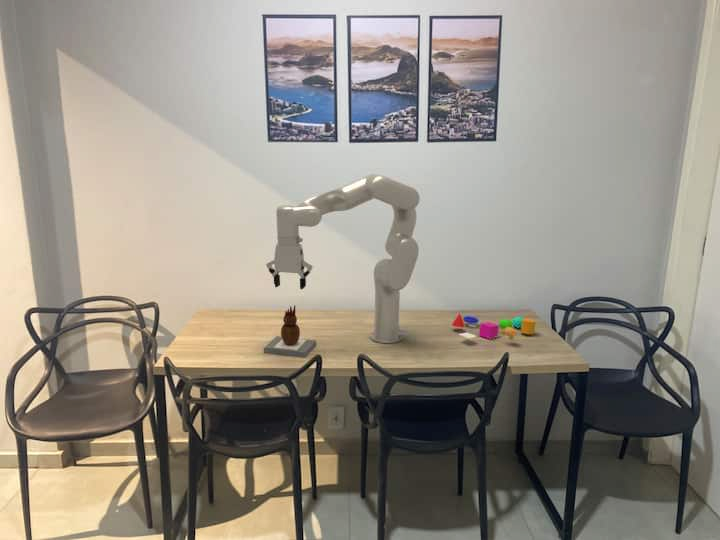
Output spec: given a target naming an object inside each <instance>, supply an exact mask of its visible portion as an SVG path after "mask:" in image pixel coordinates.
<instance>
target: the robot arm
mask: <svg viewBox="0 0 720 540" xmlns="http://www.w3.org/2000/svg"><path fill="white" fill-rule="evenodd" d="M371 200H378V201H379V202H380V201H381V202H383V203H385V204H387V205H390V206H391V207H392V209H393V221H392V222H391V223H392V224H391V228H390V229H389V233H388V235H387V239H386V242H385V245H384V248H385V252H386V253H387V254H388V256H391V259H389V258H383V259H381V260H378V262H377V263H376V264H375V266H374V269H373V280H374V282H373V283H374V293H375V294H374V330H373V331H372V332H371V333H370V339H371V340H372V341H374V342H376V343H378V344H379V343H381V344H395V343H398V342H401V341H402V340H403V337H407V338H410V331H408V330H407V329H402V328H401V325H399V324H400V301H401V300H400V299H401V298H400V297H401V296H400V295H401V294H400V291H401V290H403V289H404V288H406V287H407V285H408V284H409V282H410V280H411V277H412V274H413V271H414V268H415V266H416V263H417V260H418V258H419V252H420V251H419V250H420V249H419V245H418V243H417V241H416V240H415V239H414V238H413V234H414V232H415V231H414V230H415V227H416V223H417V211H416V208H417V206H418V205H419V203H420V200H421V198H420V193H419V192H418V191H417V189H416V188H414V187H412V186H410V185H407V184H405V183H402V182H399V181H397V180H395V179H392V178H390V177H387V176H384V175H380V174H375V173H373V174H372V173H371V174H368V175H365V176H363V177H361V178H359V179H357V180H355V181H351V182H350V183H347V184H345V185H343V186H340V187H338V188H336V189H335V188H334V189H332V190H329V191H327V192H323V193H321V194H318V195H316V196H314V197H311V198H309V199H307V200H304V201H302V202H300V203H299V204H298V205H297V206H296V205H292V204H291V205H288V204H287V205H285V204H284V205H280V206H278V207H277V208H276V211H275V212H276V213H275V214H276V229H277V230H276V231H277V244H276V245H275V250H274V259H272V260H271V261H269V262H268V263H266V264H265V265H266V267H267V269H268V272H269V273H270V274H271V275H272V276H271V277H273V285H274V287H275V288H278V287H279V286H281V277H280V274H279V273H287V274H288V273H291V274H298V275H299V277H300V278H299V289H300V290H303V289H305V287H306V285H307V280H306V279H307V276H308V275H309V274H310V273H311V271H312V270H313V267H314V266H313V265H312V264H310V263H308V262H306V260H305V257H304V256H305V255H304V250H303V246H302V244H301V243H303V240H304V239H303V238H302V237H300V232H299V231H300V230H299V229H300V227H305V228H306V227H307V228H308V227H310V228H312V227H316V226H317V225H319V223H321V221H322V216H324V215H326V214H329V213H332V212H333V213H334V212H344V211H349V210H352V209H355V208H357V207H358V206H361V205H362V204H364V203H367V202H369V201H371ZM273 265H274V268H273ZM305 268H306V271H305Z"/></svg>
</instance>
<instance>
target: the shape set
mask: <svg viewBox="0 0 720 540" xmlns="http://www.w3.org/2000/svg"><path fill="white" fill-rule="evenodd" d="M464 322H465V323H470V324H477V323H478V322H479V319H478V317H474V316H464V317H463V318H462V316H461V313H459V314H458V315H457V316H456V318H455V320H453V322H452V324H451V326H453V327H457V328H464V327H465V324H464ZM514 326H515V327H521V329H520V333H522V334H526V335H534V334H535V329H536V320H535V319H532V318H528V317H524V318H523V317H521V316H515V317H514V318H513V319H512V321H511V320H510V318H509V319H508V318H503V319H501V320H500V321H499V324H498V323H497V324H496V323H493V322H490V321H486V322H481V323H480V326H479V333H478V336H479V335H480V336H479V337H481V336H483V337H482V338H484V337H486V338H489V339H490V338H493V337H495V336H497V335H499V332H500V333H502V334H505V336H507V337H508V339H509V340H512V341H513V340H514V338H515V337H516V336H517V334H518V331H517V330H516V328H515V327H514ZM513 327H514V328H513ZM499 329H500V330H499ZM533 333H534V334H533ZM458 335H459V336H461V337H464V338H467V339H470V338H471V339H472V338H475V337H477V335H475V334H472V333H469V332H463V333H459V334H458ZM486 338H485V339H486ZM489 339H488V340H489ZM490 340H491V339H490Z"/></svg>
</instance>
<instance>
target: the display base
mask: <svg viewBox="0 0 720 540" xmlns="http://www.w3.org/2000/svg"><path fill="white" fill-rule="evenodd" d="M316 347H317V340H315V339H306V338H299V340H298V342H297V343H296V344H294V345H287V344H285V343H284V342H283V340H282V337H281V335H276V336H275V337H274V338H273V339H272V340H270V342H269V343H267V344H266V345H264V347H263V354H271V355H278V356H279V355H280V356H288V357H297V358H305V359H306V357H308V356H309V354H311V352H312V351H313V350H314V349H315V348H316Z"/></svg>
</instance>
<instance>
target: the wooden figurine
mask: <svg viewBox="0 0 720 540" xmlns="http://www.w3.org/2000/svg"><path fill="white" fill-rule="evenodd" d="M297 318H298V317H297V315H296V304H295V305H294V306H293V309H292V306H291V305H290V306H289V308H288V309H287V310H285V313H284V316H283V325H282V326H281V328H280V336H281V337H282V340H283V342H284V343H285V344H287V345H294V344H296V343H297V342H298V340H299V339H300V334H301V329H300V327H299V326H298V324H297V320H298V319H297Z"/></svg>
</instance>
